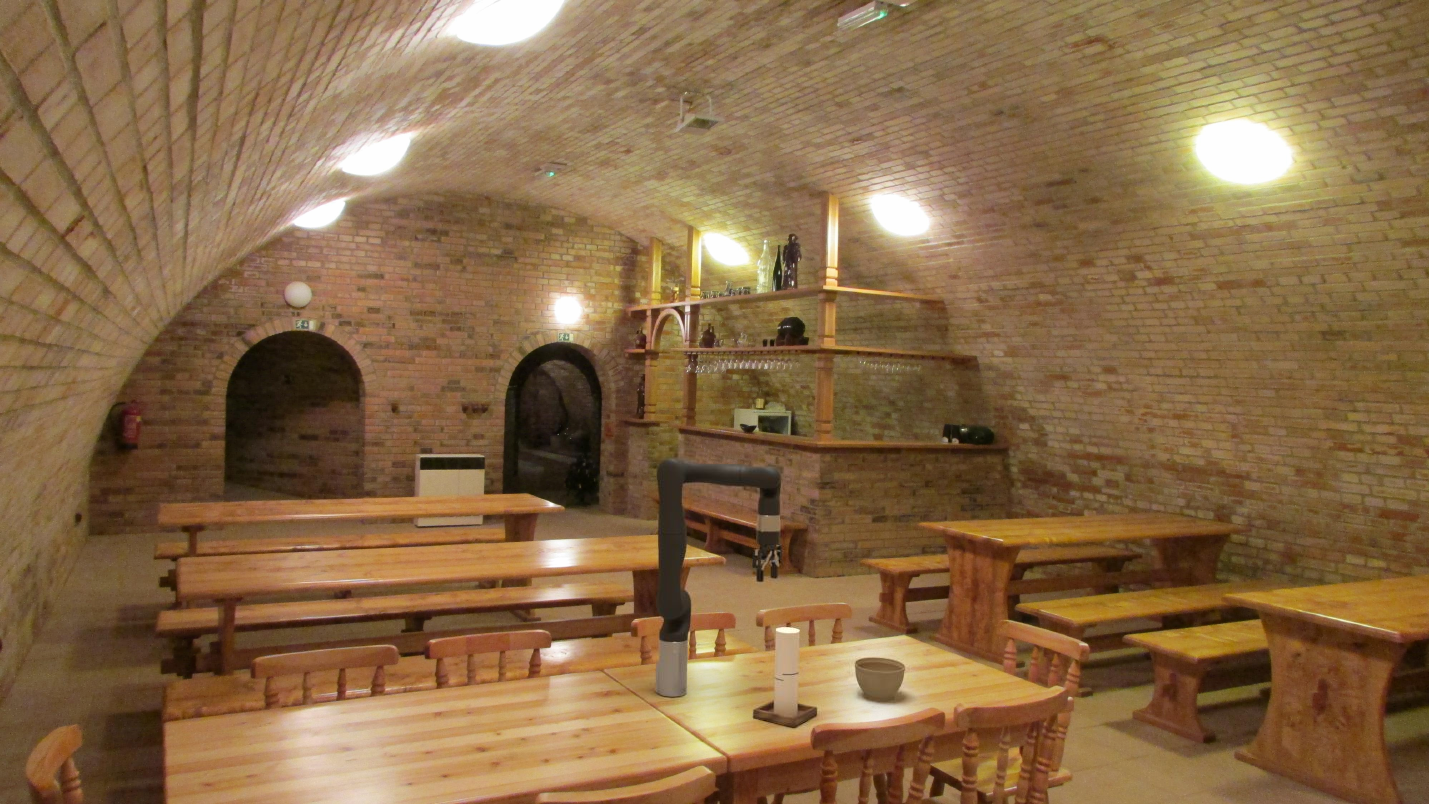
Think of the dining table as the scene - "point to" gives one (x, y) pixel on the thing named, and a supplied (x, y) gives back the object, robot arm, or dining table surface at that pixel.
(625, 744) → the dining table surface
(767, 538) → the robot arm
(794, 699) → the cylindrical container
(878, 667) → the planter bowl
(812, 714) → the walnut tray
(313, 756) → the dining table surface
